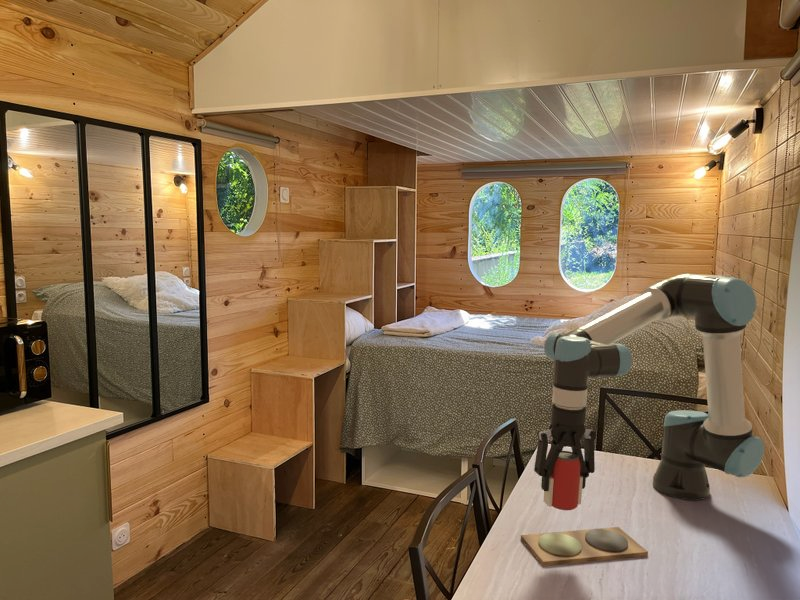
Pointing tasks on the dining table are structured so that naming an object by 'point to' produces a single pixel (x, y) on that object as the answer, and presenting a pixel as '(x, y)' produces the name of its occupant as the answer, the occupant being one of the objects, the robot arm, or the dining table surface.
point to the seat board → (582, 546)
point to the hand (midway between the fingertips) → (562, 502)
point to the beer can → (566, 481)
